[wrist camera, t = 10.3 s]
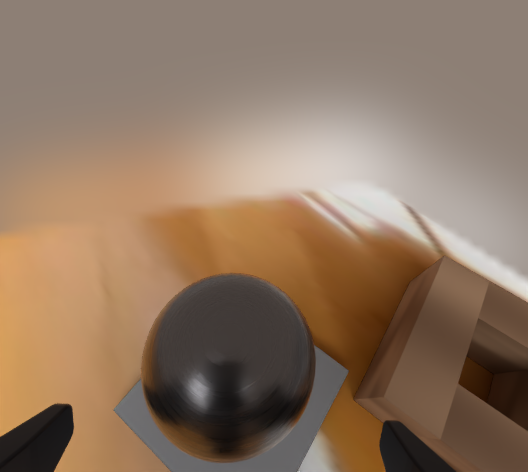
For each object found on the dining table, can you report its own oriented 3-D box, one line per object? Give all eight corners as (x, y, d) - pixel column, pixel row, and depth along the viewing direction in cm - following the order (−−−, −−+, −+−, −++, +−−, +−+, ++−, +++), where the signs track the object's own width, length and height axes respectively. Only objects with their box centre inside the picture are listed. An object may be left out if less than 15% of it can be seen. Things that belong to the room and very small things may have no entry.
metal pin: (264, 428, 14) (346, 496, 3) (202, 423, 14) (67, 471, 3) (268, 360, 16) (332, 253, 5) (212, 355, 16) (149, 234, 5)
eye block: (520, 529, 13) (613, 569, 10) (353, 399, 16) (383, 397, 12) (545, 364, 18) (618, 354, 14) (410, 281, 20) (444, 255, 17)
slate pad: (252, 551, 13) (252, 557, 12) (117, 409, 15) (113, 410, 14) (345, 372, 17) (349, 370, 16) (228, 283, 19) (227, 280, 18)
